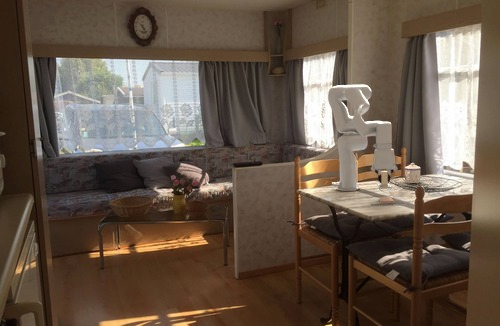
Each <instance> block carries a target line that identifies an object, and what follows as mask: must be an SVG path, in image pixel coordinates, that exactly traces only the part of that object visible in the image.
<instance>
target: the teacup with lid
mask: <svg viewBox="0 0 500 326" xmlns="http://www.w3.org/2000/svg"><path fill="white" fill-rule="evenodd" d="M419 182H420V183H421V167H420V166H418V165H416V164H415V163H414V162H412V163H410V164H409V165H407V166H404V183H406V184H410V183H417V184H420V183H419Z"/></svg>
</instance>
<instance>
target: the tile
mask: <svg viewBox="0 0 500 326" xmlns="http://www.w3.org/2000/svg"><path fill="white" fill-rule="evenodd" d="M378 201H379V204H395V200H394V199H393V198H392V196H378Z"/></svg>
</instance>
